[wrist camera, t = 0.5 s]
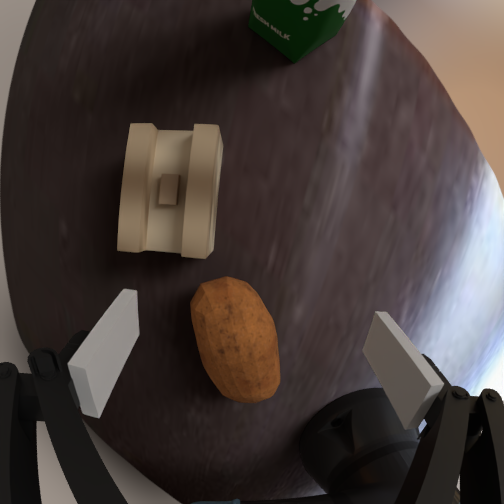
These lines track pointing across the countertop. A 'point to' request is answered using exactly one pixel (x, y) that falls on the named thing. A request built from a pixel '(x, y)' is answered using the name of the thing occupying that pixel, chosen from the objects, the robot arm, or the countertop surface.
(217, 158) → the cradle
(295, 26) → the milk carton
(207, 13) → the countertop surface
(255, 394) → the potato
